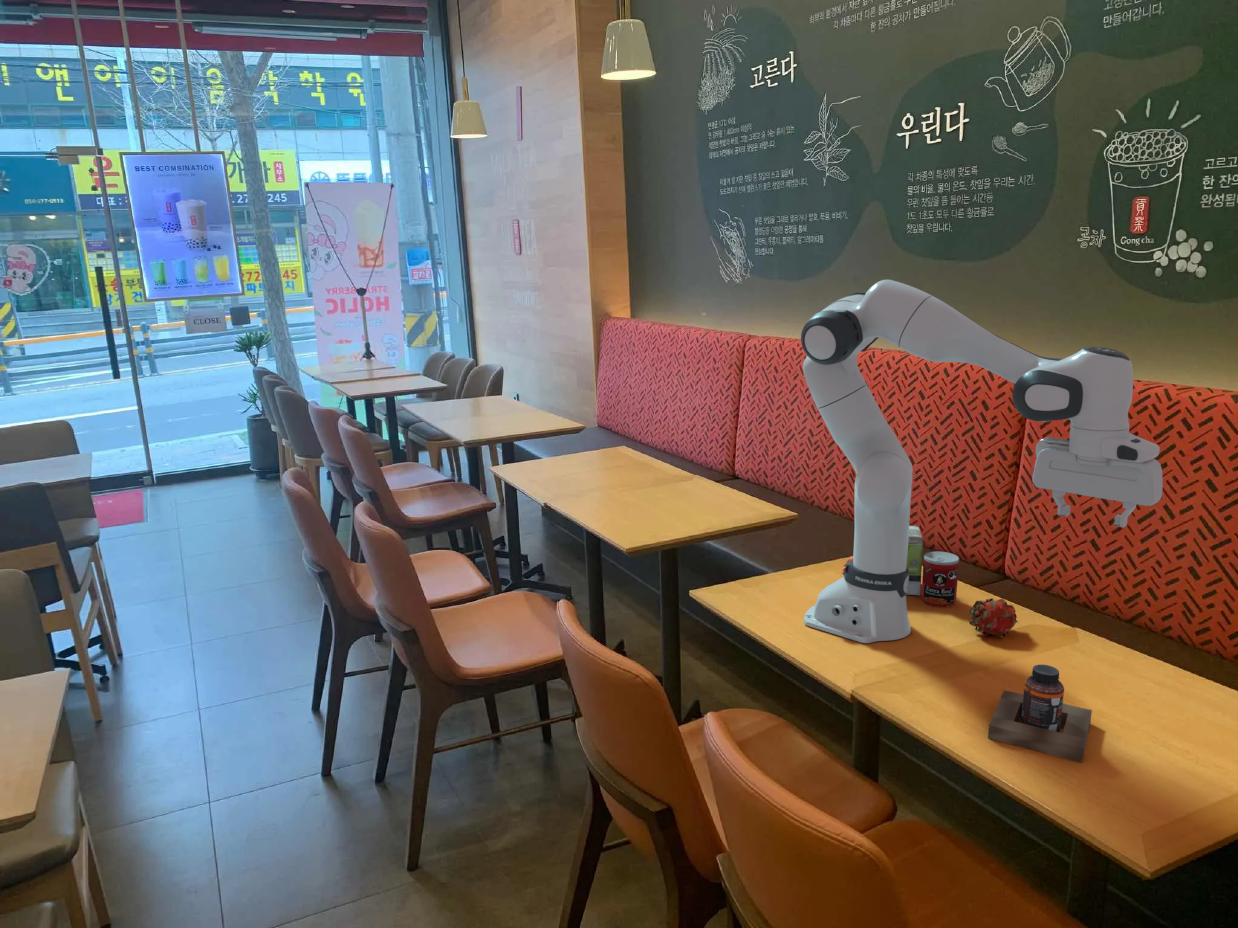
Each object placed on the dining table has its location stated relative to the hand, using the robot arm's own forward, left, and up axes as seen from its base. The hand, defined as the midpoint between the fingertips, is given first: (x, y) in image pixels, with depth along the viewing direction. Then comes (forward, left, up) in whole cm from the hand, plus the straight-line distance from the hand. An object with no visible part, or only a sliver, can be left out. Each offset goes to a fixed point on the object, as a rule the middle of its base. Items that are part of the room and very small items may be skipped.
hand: (1091, 520), depth 152 cm
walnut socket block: (-3, -17, -33) cm, 37 cm away
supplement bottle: (-3, -17, -33) cm, 38 cm away
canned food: (-31, +33, -33) cm, 56 cm away
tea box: (-44, +36, -33) cm, 66 cm away
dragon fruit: (-17, +21, -33) cm, 43 cm away
